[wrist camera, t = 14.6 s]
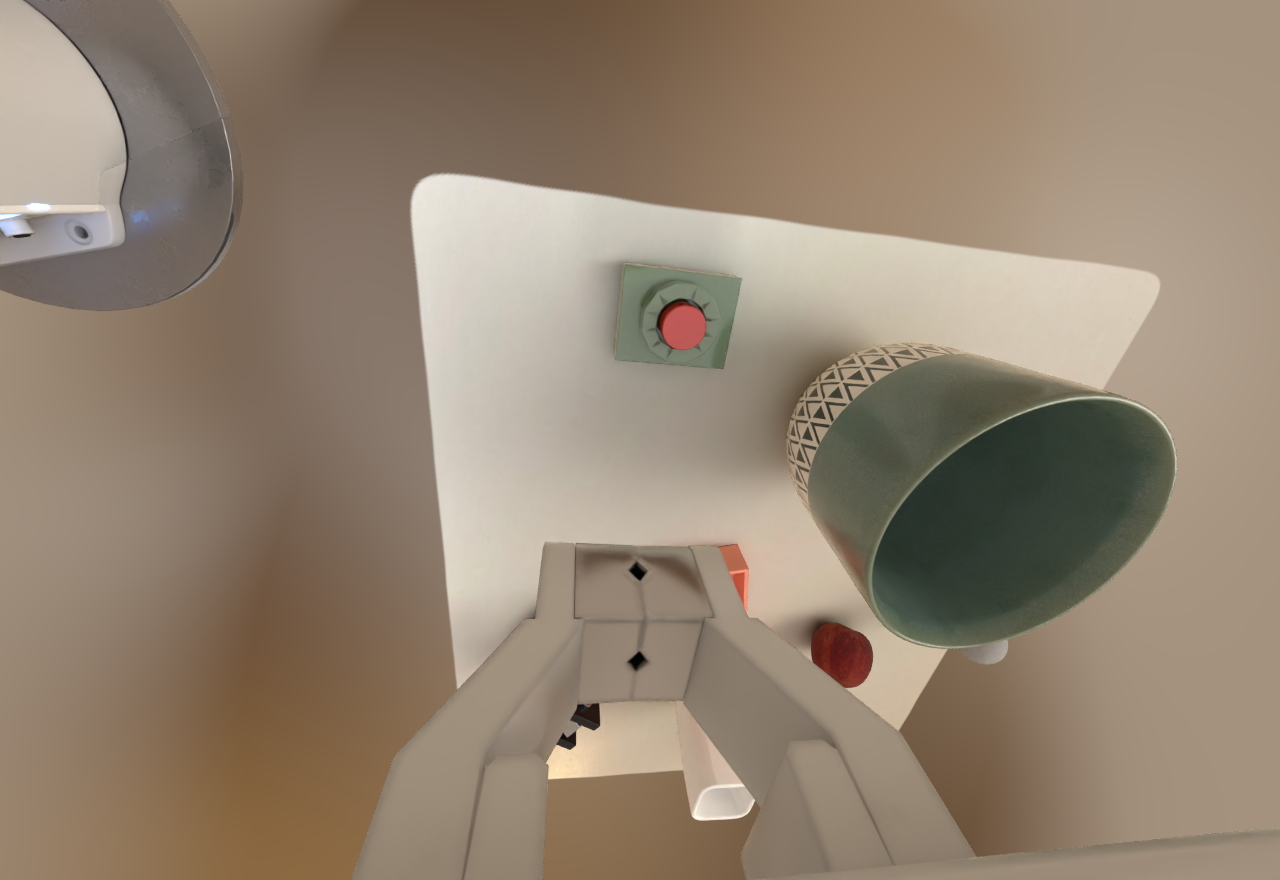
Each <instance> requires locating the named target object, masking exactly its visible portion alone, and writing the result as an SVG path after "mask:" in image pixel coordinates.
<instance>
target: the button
mask: <svg viewBox="0 0 1280 880" xmlns="http://www.w3.org/2000/svg"><path fill="white" fill-rule="evenodd" d="M659 328H660V332H661V334H662V336H663V338H664V339H665V341H666V342H667V343H668V345H670V346H671V347H673V348H675V349H677V350H688V349H691V348H693V347H695V346H696V345H698V344H699V343H700V342H701V340H702V339H703V337H704V335H705V332H706V320H705V318H704V315H703V314H702V313H701V311H700V310H698V309H697V308H696V307H695V306H693V305H692V304H690V303H687V302H677V303H674V304H672V305H670V306H668V307H667V308H666V309H665V310H664V312H663V313H662V315H661V318H660V322H659Z"/></svg>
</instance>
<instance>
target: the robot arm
mask: <svg viewBox="0 0 1280 880" xmlns="http://www.w3.org/2000/svg"><path fill="white" fill-rule="evenodd" d="M126 163H127V162H126V145H125V139H124V134H123V130H122V127H121V124H120V120H119V118H118V115H117V112H116V110H115V107H114V105H113V103H112V101H111V99H110V97H109V95H108V93H107V91H106V89H105V88H104V86H103V84H102V82H101V81H100V79H99V78H98V76H97V75H96V73H95V72H94V70H93V69H92V67H91V66H90V64H89V63H88V62H87V61H86V59H85V58H84V57H83V55H82V54H81V53H80V52H79V51H78V49H77V48H76V47H75V46H74V45H73V44H72V42H71V41H70V40H69V39H68V38H67V37H66V36H65V35H64V34H63V33H62V32H61V31H60V30H59V29H58V28H57V27H56V26H55V25H54V24H53V23H51V22H50V21H49V20H48V19H47V18H46V17H45V16H43V15H42V14H41V13H40V12H39V11H37V10H36V9H35V8H34V7H32V6H31V5H30V4H28V3H27V2H26V1H24V0H0V267H3V266H9V265H15V264H21V263H27V262H32V261H38V260H44V259H50V258H56V257H62V256H67V255H73V254H79V253H85V252H91V251H96V250H102V249H108V248H114V247H118V246H120V245H122V244H123V243H124V241H125V237H126V232H125V225H124V220H123V216H122V211H121V207H120V194H121V189H122V185H123V182H124V178H125V172H126ZM83 228H84V229H85V230H86V231H87V233H88V236H87V235H86V234H85V233H84V231H83ZM624 701H684V703H683V704H684V705H685V707H686V708H687V709H688V711H689V712H690V713H691V715H692V716H693V718H694V719H695V720H696V722H697V723H698V724H699V726H700V727H701V728H702V730H703V731H704V732H705V734H706V735H707V736H708V738H709V739H710V740H711V742H712V743H713V744H714V746H715V747H716V748H717V750H718V751H719V752H720V754H721V755H722V756H723V758H724V759H725V760H726V762H727V763H728V764H729V766H730V767H731V769H732V770H733V771H734V773H735V774H736V775H737V777H738V778H739V779H740V781H741V782H742V783H743V785H744V786H745V787H746V789H747V790H748V791H749V793H750V794H751V795H752V797H753V798H754V799H755V801H756V802H757V803H758V805H759V806H760V807H761V810H760V812H759V814H758V816H757V819H756V821H755V823H754V825H753V828H752V830H751V832H750V834H749V836H748V839H747V841H746V843H745V845H744V848H743V850H742V852H741V855H740V856H741V861H742V865H743V869H744V874H745V878H746V880H1280V827H1275V828H1265V829H1255V830H1244V831H1234V832H1225V833H1214V834H1204V835H1195V836H1184V837H1174V838H1164V839H1154V840H1145V841H1134V842H1124V843H1114V844H1103V845H1093V846H1083V847H1074V848H1063V849H1053V850H1043V851H1034V852H1023V853H1013V854H1003V855H993V856H983V857H976V855H975V854H974V852H973V851H972V849H971V847H970V846H969V844H968V842H967V841H966V839H965V837H964V836H963V834H962V833H961V831H960V829H959V828H958V826H957V824H956V823H955V821H954V819H953V818H952V816H951V815H950V813H949V811H948V810H947V808H946V806H945V805H944V803H943V802H942V800H941V798H940V797H939V795H938V793H937V792H936V790H935V788H934V787H933V785H932V783H931V782H930V780H929V778H928V777H927V775H926V774H925V772H924V771H923V769H922V767H921V766H920V764H919V762H918V760H917V759H916V757H915V756H914V754H913V752H912V751H911V749H910V747H909V746H908V744H907V742H906V741H905V739H904V738H903V736H902V735H901V733H900V732H899V731H897V730H896V729H895V728H894V727H892V726H891V725H890V724H889V723H887V722H886V721H885V720H884V719H882V718H881V717H880V716H879V715H878V714H876V713H875V712H874V711H873V710H871V709H870V708H869V707H868V706H866V705H865V704H864V703H863V702H861V701H860V700H859V699H858V698H856V697H855V696H854V695H853V694H851V693H850V692H849V691H848V690H846V689H845V688H844V687H843V686H841V685H840V684H839V683H838V682H836V681H835V680H834V679H833V678H831V677H830V676H829V675H828V674H826V673H825V672H824V671H823V670H822V669H820V668H819V667H818V666H817V665H815V664H814V663H813V662H812V661H810V660H809V659H808V658H807V657H805V656H804V655H803V654H802V653H800V652H799V651H798V650H797V649H795V648H794V647H793V646H792V645H790V644H789V643H788V642H787V641H785V640H784V639H783V638H782V637H780V636H779V635H778V634H777V633H775V632H774V631H773V630H772V629H770V628H769V627H768V626H767V625H766V624H764V623H763V622H762V621H761V620H759V619H758V618H749V617H748V615H747V613H746V610H745V608H744V606H743V603H742V601H741V598H740V596H739V594H738V591H737V589H736V587H735V584H734V582H733V579H732V577H731V575H730V572H729V570H728V568H727V565H726V563H725V560H724V558H723V556H722V553H721V551H720V549H719V548H718V547H717V546H688V547H686V546H633V545H611V544H588V543H576V544H574V543H554V542H545V544H544V546H543V552H542V560H541V569H540V578H539V586H538V595H537V604H536V612H535V619H524V620H523V622H522V623H521V624H520V625H519V626H518V627H517V628H516V629H515V630H514V631H513V632H512V633H511V634H510V635H509V636H508V637H507V638H506V639H505V640H504V642H503V643H502V644H501V645H500V646H499V647H498V648H497V649H496V650H495V651H494V652H493V653H492V654H491V655H490V656H489V657H488V658H487V659H486V660H485V662H484V663H483V664H482V665H481V666H480V667H479V668H478V669H477V670H476V671H475V672H474V673H473V674H472V675H471V676H470V677H469V678H468V679H467V680H466V682H465V683H464V684H463V685H462V686H461V687H460V688H459V689H458V690H457V691H456V692H455V693H454V694H453V695H452V697H450V698H449V699H448V700H447V702H446V703H445V704H444V705H443V706H442V707H441V708H440V709H439V710H438V711H437V712H436V713H435V714H434V715H433V716H432V717H431V718H430V719H429V720H428V722H427V723H426V724H425V725H424V726H423V727H422V728H421V729H420V730H419V731H418V732H417V733H416V734H415V735H414V736H413V737H412V738H411V739H410V740H409V742H408V743H407V744H406V745H405V746H404V747H403V748H402V749H401V750H400V751H399V752H398V753H397V754H396V755H395V756H394V759H393V762H392V764H391V767H390V770H389V773H388V776H387V779H386V782H385V785H384V788H383V790H382V793H381V796H380V799H379V802H378V805H377V807H376V810H375V813H374V816H373V819H372V822H371V825H370V828H369V830H368V834H367V836H366V839H365V842H364V845H363V848H362V850H361V853H360V856H359V859H358V862H357V865H356V868H355V870H354V873H353V876H352V879H351V880H543V864H544V845H545V844H544V842H545V824H546V805H547V784H548V764H547V763H546V762H547V760H548V758H549V756H550V755H551V753H552V751H553V749H554V748H555V746H556V744H557V742H558V740H559V739H560V737H561V735H562V733H563V732H564V730H565V728H566V726H567V725H568V723H569V721H570V719H571V718H572V716H573V714H574V712H575V711H576V709H577V704H593V703H609V702H624Z"/></svg>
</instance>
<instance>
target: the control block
mask: <svg viewBox="0 0 1280 880" xmlns="http://www.w3.org/2000/svg"><path fill="white" fill-rule="evenodd" d="M741 281H742V278H740V277H737V276H735V275H729V274H721V273H713V272H704V271H696V270H688V269H679V268H671V267H663V266H655V265H646V264H638V263H630V262H623V264H622V274H621V284H620V294H619V304H618V314H617V324H616V335H615V345H614V356H615V360H623V361H634V362H646V363H658V364H669V365H681V366H692V367H704V368H716V369H723V367H724V362H725V357H726V352H727V348H728V343H729V338H730V333H731V329H732V324H733V319H734V314H735V309H736V305H737V300H738V295H739V290H740V286H741ZM677 302H687V303H690V304H692V305H693V306H695V307H696V308H697V309H698V310H700V311H701V313H702V314H703V315H704V318H705V320H706V332H705V335H704V337H703V339H702V340H701V342H700V343H699V344H698V345H696V346H695V347H693V348H691V349H688V350H677V349H675V348H673V347H671V346H670V345H668V343H667V342H666V341H665V339H664V338H663V336H662V334H661V332H660V328H659V322H660V318H661V315H662V313H663V312H664V310H665V309H666V308H667V307H668V306H670V305H672V304H674V303H677Z"/></svg>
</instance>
